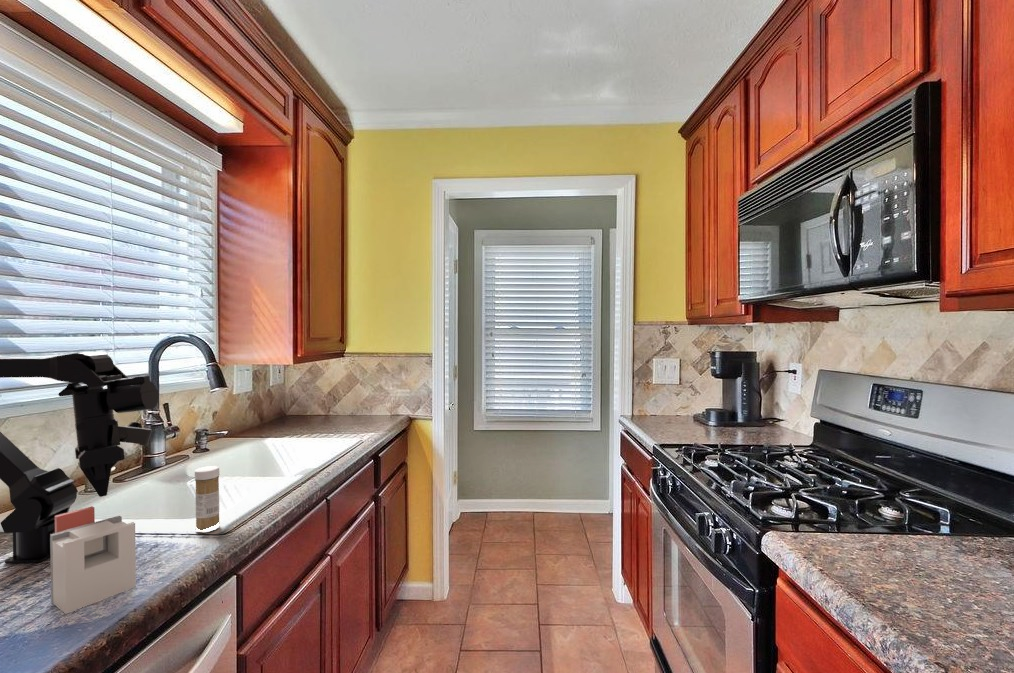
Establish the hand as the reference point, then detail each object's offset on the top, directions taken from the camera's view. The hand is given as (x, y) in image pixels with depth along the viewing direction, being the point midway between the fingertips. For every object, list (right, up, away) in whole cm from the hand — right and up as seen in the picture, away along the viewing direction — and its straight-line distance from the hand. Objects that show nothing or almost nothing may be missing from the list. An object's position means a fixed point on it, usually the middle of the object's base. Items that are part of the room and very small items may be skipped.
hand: (103, 495), depth 92 cm
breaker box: (+11, -11, -15) cm, 22 cm away
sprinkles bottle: (+14, -11, +11) cm, 20 cm away
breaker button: (+7, -6, -12) cm, 15 cm away
